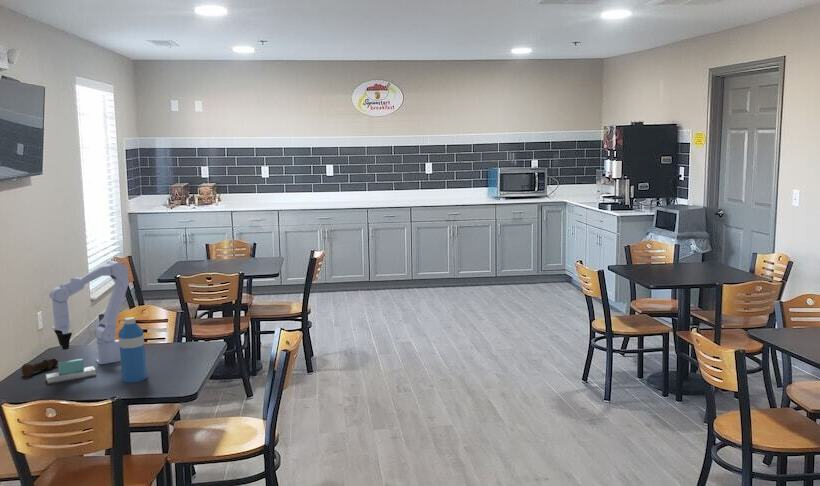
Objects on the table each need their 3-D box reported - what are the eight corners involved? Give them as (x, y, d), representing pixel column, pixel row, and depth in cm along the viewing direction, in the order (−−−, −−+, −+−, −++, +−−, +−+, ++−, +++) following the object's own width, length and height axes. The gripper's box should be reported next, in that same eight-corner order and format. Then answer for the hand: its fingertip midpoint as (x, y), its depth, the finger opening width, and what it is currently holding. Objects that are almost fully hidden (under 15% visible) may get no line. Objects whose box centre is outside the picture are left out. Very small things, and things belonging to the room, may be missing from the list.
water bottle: (151, 376, 312) (147, 316, 308) (136, 383, 303) (131, 321, 299) (132, 374, 315) (127, 315, 311) (117, 381, 306) (112, 320, 303)
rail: (93, 371, 320) (93, 366, 320) (96, 375, 315) (95, 369, 315) (46, 380, 311) (45, 374, 310) (48, 384, 306) (47, 378, 305)
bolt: (57, 370, 331) (27, 379, 317) (50, 363, 332) (19, 372, 319) (62, 359, 329) (31, 368, 315) (54, 353, 331) (23, 361, 317)
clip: (83, 373, 316) (81, 358, 316) (84, 375, 314) (82, 359, 313) (59, 377, 312) (58, 362, 311) (60, 379, 310) (59, 363, 309)
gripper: (48, 314, 325) (51, 345, 327) (53, 320, 312) (56, 352, 314) (66, 311, 328) (69, 342, 330) (71, 317, 316) (74, 349, 318)
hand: (64, 347), depth 323 cm, fingers open, 7 cm apart
